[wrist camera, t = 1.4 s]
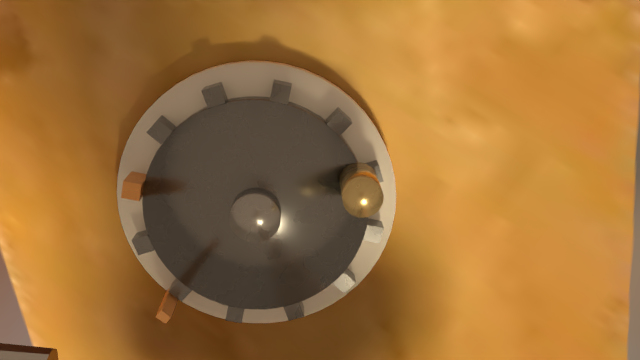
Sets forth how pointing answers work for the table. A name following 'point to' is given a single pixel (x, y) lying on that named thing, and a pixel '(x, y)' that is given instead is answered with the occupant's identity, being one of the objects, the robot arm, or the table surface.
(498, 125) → the table surface
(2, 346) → the robot arm
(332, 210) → the sprocket
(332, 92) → the sprocket base
